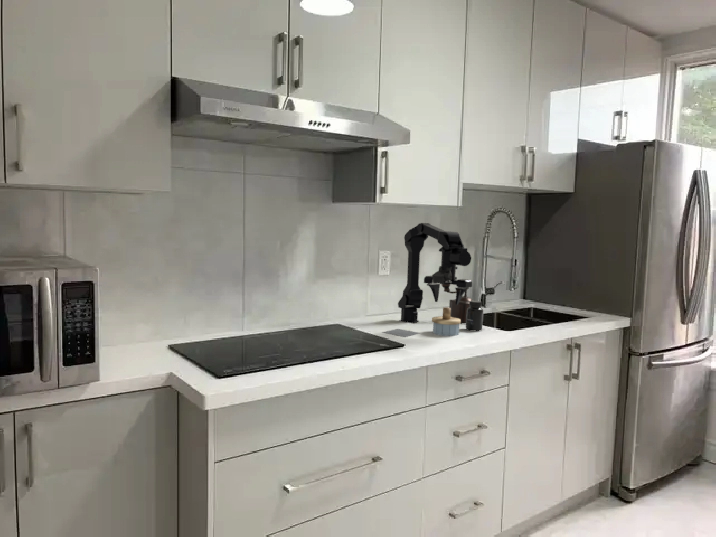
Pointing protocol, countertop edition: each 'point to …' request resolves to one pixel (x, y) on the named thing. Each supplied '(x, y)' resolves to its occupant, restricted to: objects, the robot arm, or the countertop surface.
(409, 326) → the countertop surface
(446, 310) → the lid
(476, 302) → the supplement bottle
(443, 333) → the bowl
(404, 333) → the mat
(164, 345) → the countertop surface
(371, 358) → the countertop surface
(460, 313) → the manual coffee grinder
